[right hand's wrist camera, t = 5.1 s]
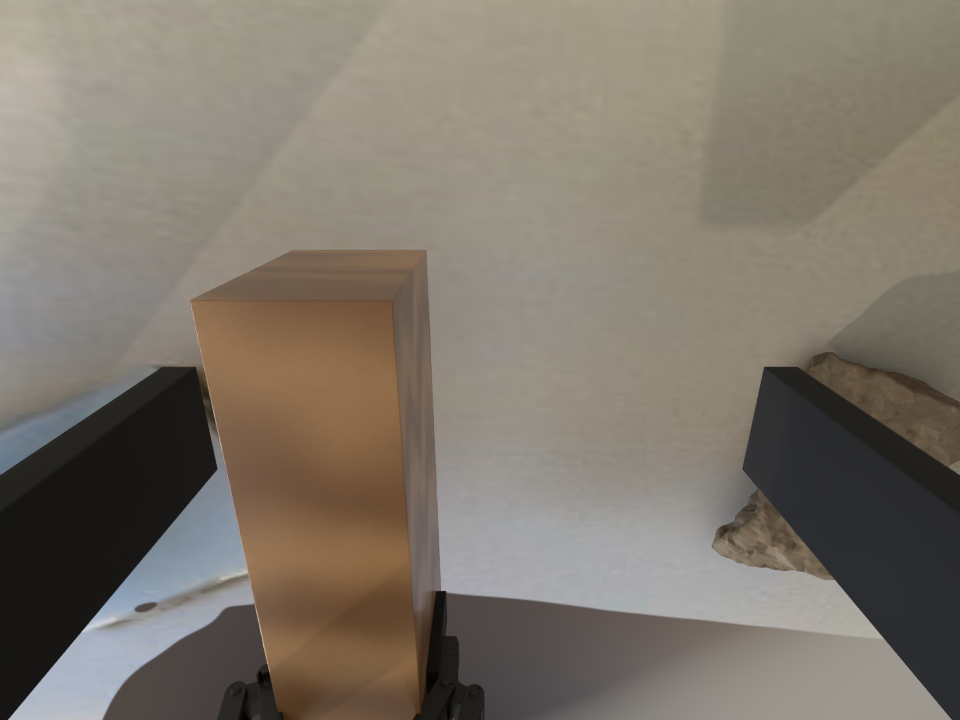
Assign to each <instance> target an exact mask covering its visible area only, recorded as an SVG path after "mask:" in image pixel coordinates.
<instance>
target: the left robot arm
mask: <svg viewBox="0 0 960 720" xmlns="http://www.w3.org/2000/svg"><path fill="white" fill-rule="evenodd" d="M446 625H447V603H446V591H436V596H435V604H434V612H433V620H432V628H431V636H430V644H429V652H428V660H427V667H426V679H427V697H426V698H425V700H424V702H423V703H422V710H421V714H416V715H415V716H414V718H413V720H452V719H453V717H454V720H456V718H457V720H484V691H483V688H482V687H481V686H479V685H477V684H472V685H470V686H468V687H467V686H464V685H462V684H461V683H460V682H459V681H458V667H459V642H458V640H457V637H456V636H445V635H446ZM257 680H258V681H257V682H254V683H251V684H248V685H246V684H245V683H244V682H242V681H237V682H234V683H233V684H231V685H230V686H229V687H228V688H227V689H226V691H225V694H224V698H223V701H222V705H221V708H220V712H219V715H218V719H217V720H251V719H252V717H254V716H257V715H260V720H284V718H283V713H282V712H278V710H277V705H276V700H275V696H274V691H273V686H272V682H271V677H270V673H269V668H268V664H265V665H263V666H262V667H261V668H260V669H259V670H258V672H257Z"/></svg>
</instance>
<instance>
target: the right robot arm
mask: <svg viewBox="0 0 960 720" xmlns="http://www.w3.org/2000/svg"><path fill="white" fill-rule="evenodd" d="M216 470H217V464H216V460H215V455H214V450H213V446H212V441H211V436H210V432H209V427H208V422H207V417H206V413H205V408H204V403H203V399H202V394H201V389H200V385H199V380H198V375H197V371H196V367H162V368H160V369H159V370H157V371H156V372H154V373H153V374H151V375H150V376H148V377H147V378H145V379H144V380H142V381H141V382H139V383H138V384H136V385H135V386H133V387H132V388H130V389H129V390H127V391H126V392H124V393H123V394H121V395H120V396H118V397H117V398H115V399H114V400H112V401H111V402H109V403H108V404H106V405H105V406H103V407H102V408H100V409H99V410H97V411H96V412H94V413H93V414H91V415H90V416H88V417H87V418H85V419H84V420H82V421H81V422H79V423H78V424H76V425H75V426H73V427H72V428H70V429H69V430H67V431H66V432H64V433H63V434H61V435H60V436H58V437H57V438H55V439H54V440H52V441H51V442H49V443H48V444H46V445H45V446H43V447H42V448H40V449H39V450H37V451H36V452H34V453H33V454H31V455H30V456H28V457H27V458H25V459H24V460H22V461H21V462H19V463H18V464H16V465H15V466H13V467H12V468H10V469H9V470H7V471H6V472H4V473H3V474H1V475H0V720H8V719H9V718H10V717H11V716H12V714H13V713H14V712H15V711H16V710H17V708H18V707H19V706H20V705H21V704H22V702H23V701H24V700H25V699H26V698H27V696H28V695H29V694H30V693H31V692H32V690H33V689H34V688H35V687H36V686H37V684H38V683H39V682H40V681H41V680H42V678H43V677H44V676H45V675H46V674H47V672H48V671H49V670H50V669H51V668H52V667H53V665H54V664H55V663H56V662H57V661H58V659H59V658H60V657H61V656H62V655H63V653H64V652H65V651H66V650H67V649H68V647H69V646H70V645H71V644H72V643H73V641H74V640H75V639H76V638H77V637H78V635H79V634H80V633H81V632H82V631H83V629H84V628H85V627H86V626H87V625H88V623H89V622H90V621H91V620H92V619H93V617H94V616H95V615H96V614H97V613H98V611H99V610H100V609H101V608H102V607H103V605H104V604H105V603H106V602H107V601H108V600H109V598H110V597H111V596H112V595H113V594H114V592H115V591H116V590H117V589H118V588H119V586H120V585H121V584H122V583H123V582H124V580H125V579H126V578H127V577H128V576H129V574H130V573H131V572H132V571H133V570H134V568H135V567H136V566H137V565H138V564H139V562H140V561H141V560H142V559H143V558H144V556H145V555H146V554H147V553H148V552H149V550H150V549H151V548H152V547H153V546H154V544H155V543H156V542H157V541H158V540H159V539H160V537H161V536H162V535H163V534H164V533H165V531H166V530H167V529H168V528H169V527H170V525H171V524H172V523H173V522H174V521H175V519H176V518H177V517H178V516H179V515H180V513H181V512H182V511H183V510H184V509H185V507H186V506H187V505H188V504H189V503H190V501H191V500H192V499H193V498H194V497H195V495H196V494H197V493H198V492H199V491H200V489H201V488H202V487H203V486H204V485H205V483H206V482H207V481H208V480H209V479H210V478H211V476H212V475H213V474H214V473H215V472H216ZM743 470H744V472H745V473H746V474H747V475H748V476H749V478H750V479H751V480H752V481H753V482H754V483H755V485H756V486H757V487H758V488H759V489H760V491H761V492H762V493H763V494H764V495H765V497H766V498H767V499H768V500H769V501H770V503H771V504H772V505H773V506H774V507H775V509H776V510H777V511H778V512H779V513H780V515H781V516H782V517H783V518H784V519H785V521H786V522H787V523H788V524H789V525H790V527H791V528H792V529H793V530H794V531H795V533H796V534H797V535H798V536H799V537H800V539H801V540H802V541H803V542H804V543H805V544H806V546H807V547H808V548H809V549H810V550H811V552H812V553H813V554H814V555H815V556H816V558H817V559H818V560H819V561H820V562H821V564H822V565H823V566H824V567H825V568H826V570H827V571H828V572H829V573H830V574H831V576H832V577H833V578H834V579H835V580H836V582H837V583H838V584H839V585H840V586H841V588H842V589H843V590H844V591H845V592H846V594H847V595H848V596H849V597H850V598H851V600H852V601H853V602H854V603H855V604H856V606H857V607H858V608H859V609H860V610H861V611H862V613H863V614H864V615H865V616H866V617H867V619H868V620H869V621H870V622H871V623H872V625H873V626H874V627H875V628H876V629H877V631H878V632H879V633H880V634H881V635H882V637H883V638H884V639H885V640H886V641H887V643H888V644H889V645H890V646H891V647H892V649H893V650H894V651H895V652H896V653H897V655H898V656H899V657H900V658H901V659H902V661H903V662H904V663H905V664H906V665H907V667H908V668H909V669H910V670H911V671H912V672H913V674H914V675H915V676H916V677H917V678H918V680H919V681H920V682H921V683H922V684H923V686H924V687H925V688H926V689H927V690H928V692H929V693H930V694H931V695H932V696H933V698H934V699H935V700H936V701H937V702H938V704H939V705H940V706H941V707H942V708H943V710H944V711H945V712H946V713H947V714H948V716H949V717H950V718H951V719H952V720H960V475H959V474H957V473H956V472H954V471H953V470H951V469H950V468H948V467H947V466H945V465H944V464H942V463H941V462H939V461H938V460H936V459H935V458H933V457H932V456H930V455H929V454H927V453H926V452H924V451H923V450H921V449H920V448H918V447H917V446H915V445H914V444H912V443H911V442H909V441H908V440H906V439H905V438H903V437H902V436H900V435H899V434H897V433H896V432H894V431H893V430H891V429H890V428H888V427H887V426H885V425H884V424H882V423H881V422H879V421H878V420H876V419H875V418H873V417H872V416H870V415H869V414H867V413H866V412H864V411H863V410H861V409H860V408H858V407H857V406H855V405H854V404H852V403H851V402H849V401H848V400H846V399H845V398H843V397H842V396H840V395H839V394H837V393H836V392H834V391H833V390H831V389H830V388H828V387H827V386H825V385H824V384H822V383H821V382H819V381H818V380H816V379H815V378H813V377H812V376H810V375H809V374H807V373H806V372H804V371H803V370H801V369H800V368H798V367H764V371H763V375H762V380H761V385H760V389H759V394H758V399H757V403H756V408H755V413H754V417H753V422H752V427H751V432H750V436H749V441H748V446H747V450H746V455H745V460H744V464H743Z"/></svg>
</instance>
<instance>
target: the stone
mask: <svg viewBox="0 0 960 720" xmlns="http://www.w3.org/2000/svg"><path fill="white" fill-rule="evenodd" d="M806 373H807V374H809V375H810V376H812V377H813V378H815V379H816V380H818V381H819V382H821V383H822V384H824V385H825V386H827V387H828V388H830V389H831V390H833V391H834V392H836V393H837V394H839V395H840V396H842V397H843V398H845V399H846V400H848V401H849V402H851V403H852V404H854V405H855V406H857V407H858V408H860V409H861V410H863V411H864V412H866V413H867V414H869V415H870V416H872V417H873V418H875V419H876V420H878V421H879V422H881V423H882V424H884V425H885V426H887V427H888V428H890V429H891V430H893V431H894V432H896V433H897V434H899V435H900V436H902V437H903V438H905V439H906V440H908V441H909V442H911V443H912V444H914V445H915V446H917V447H918V448H920V449H921V450H923V451H924V452H926V453H927V454H929V455H930V456H932V457H933V458H935V459H936V460H938V461H939V462H941V463H942V464H944V465H945V466H947V467H948V466H949V465H951V464H952V463H954V462H957V461H959V460H960V403H959V402H958V401H956V400H954V399H952V398H950V397H948V396H946V395H944V394H942V393H940V392H938V391H936V390H935V389H933V388H931V387H930V386H928V385H927V384H926V383H925V382H922V381H919V380H917V379H914V378H911V377H908V376H905V375H903V374H899V373H884V372H883V371H879V370H877V369H875V368H867V367H865V366H862V365H860V364H854V363H850V362H847V361H844V360H840V359H839V357H838V356H837V355H836V354H834V353H833V352H825V353H822V354H820V355H817V356H814V357H813V359H812V361H811V364H810V366H809V368H808V369H807V371H806ZM712 548H713V549H715V550H716V551H717V552H718V553H719V554H720V555H722V556H724V557H727V558H730V559H732V560H734V561H736V562H737V563H744V564H746V565H748V566H755V567H760V568H763V567H767V568H770V569H774V570H781V571H788V570H796V571H802V572H806V573H809V574H811V575H814V576H816V577H819V578H821V579H827V580H835V579H834V578H833V577H832V576H831V574H830V573H829V572H828V571H827V570H826V568H825V567H824V566H823V565H822V564H821V562H820V561H819V560H818V559H817V558H816V556H815V555H814V554H813V553H812V552H811V550H810V549H809V548H808V547H807V546H806V544H805V543H804V542H803V541H802V540H801V539H800V537H799V536H798V535H797V534H796V533H795V531H794V530H793V529H792V528H791V527H790V525H789V524H788V523H787V522H786V521H785V519H784V518H783V517H782V516H781V515H780V513H779V512H778V511H777V510H776V509H775V507H774V506H773V505H772V504H771V503H770V501H769V500H768V499H767V498H766V497H765V495H764V494H763V493H762V492H761V491H760V489H759V488H758V490H757V491H756V492H755V493H754V494H753V495H752V496H751V497H750V498H749V501H748V505H747V506H746V507H744V508H742V510H741V511H740V512H739V513H738V514H737V515H736V517H735V521H734V522H733V523H730V524H727V525H724V526H721V527H720V528H719V529H718V530H717V532H716V536H715V539H714V541H713V544H712Z"/></svg>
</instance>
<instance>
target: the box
mask: <svg viewBox="0 0 960 720" xmlns="http://www.w3.org/2000/svg"><path fill="white" fill-rule="evenodd" d="M190 305H191V309H192V314H193V319H194V323H195V328H196V333H197V337H198V342H199V347H200V351H201V356H202V361H203V365H204V370H205V375H206V379H207V384H208V389H209V393H210V398H211V402H212V407H213V412H214V416H215V421H216V426H217V430H218V435H219V440H220V444H221V449H222V454H223V458H224V463H225V468H226V472H227V477H228V482H229V486H230V491H231V496H232V500H233V505H234V510H235V514H236V519H237V524H238V528H239V533H240V538H241V542H242V547H243V551H244V556H245V561H246V565H247V570H248V575H249V579H250V584H251V589H252V593H253V598H254V603H255V607H256V612H257V617H258V621H259V626H260V631H261V635H262V640H263V645H264V649H265V654H266V659H267V663H268V668H269V673H270V677H271V682H272V686H273V691H274V696H275V700H276V705H277V710H278V712H282V713H283V718H284V720H413V718H414V716H415V715H416V714H421V710H422V703H423V702H424V700H425V698H426V697H427V679H426V667H427V660H428V652H429V644H430V636H431V628H432V620H433V612H434V604H435V596H436V591H441V578H440V555H439V532H438V509H437V486H436V463H435V440H434V416H433V393H432V370H431V347H430V324H429V301H428V278H427V255H426V250H293V251H291V252H289V253H287V254H285V255H283V256H280V257H278V258H276V259H274V260H272V261H270V262H268V263H266V264H264V265H262V266H260V267H258V268H256V269H254V270H252V271H250V272H248V273H245V274H243V275H241V276H239V277H237V278H235V279H233V280H231V281H229V282H227V283H225V284H223V285H221V286H219V287H217V288H215V289H213V290H211V291H208V292H206V293H204V294H202V295H200V296H198V297H196V298H194V299H192V300H190Z"/></svg>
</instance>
